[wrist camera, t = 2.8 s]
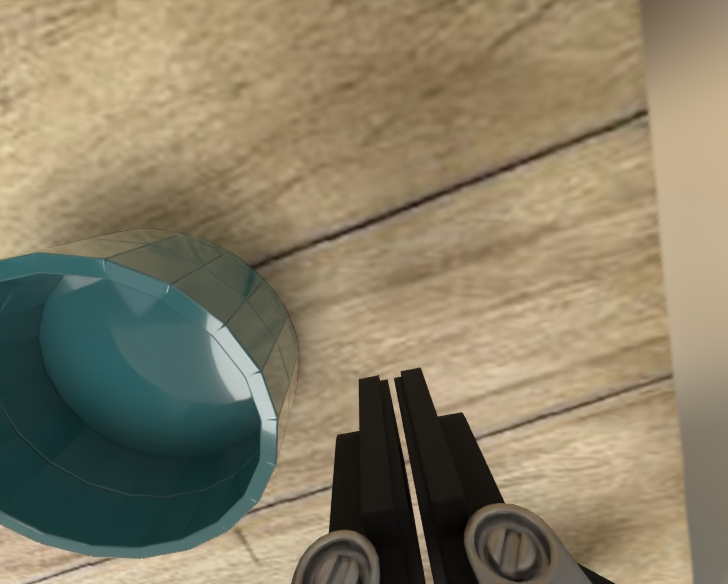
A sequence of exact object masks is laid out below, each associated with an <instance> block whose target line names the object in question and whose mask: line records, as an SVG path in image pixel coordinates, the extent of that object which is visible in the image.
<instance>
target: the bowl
mask: <svg viewBox="0 0 728 584" xmlns="http://www.w3.org/2000/svg"><path fill="white" fill-rule="evenodd" d="M298 371H299V351H298V345H297V339H296V335H295V332H294V328H293V325H292V322H291V320H290V318H289V316H288V314H287V312H286V309H285V307H284V306H283V304H282V303H281V301H280V300H279V298H278V296H277V295H276V293H275V292H274V291H273V290H272V288H271V287H270V286H269V285H268V284H267V282H266V281H265V280H264V279H263V278H262V277H261V276H260V275H259V274H258V273H257V272H256V271H255V270H253V269H252V268H251V267H250V266H249V265H248V264H246V263H245V262H243V261H242V260H241V259H239V258H238V257H237V256H235V255H234V254H232V253H230V252H228V251H227V250H225V249H223V248H221V247H220V246H217V245H215V244H213V243H210V242H208V241H206V240H203V239H201V238H198V237H194V236H191V235H187V234H184V233H180V232H173V231H167V230H156V229H139V230H126V231H121V232H117V233H112V234H108V235H103V236H99V237H94V238H90V239H85V240H81V241H76V242H72V243H68V244H64V245H59V246H55V247H51V248H46V249H42V250H38V251H33V252H29V253H25V254H20V255H16V256H12V257H8V258H3V259H0V525H2V526H4V527H6V528H8V529H11V530H13V531H15V532H17V533H19V534H21V535H23V536H25V537H27V538H29V539H31V540H33V541H35V542H37V543H39V542H40V543H41V544H43V545H47V546H51V547H55V548H59V549H63V550H67V551H70V552H74V553H78V554H82V555H86V556H92V557H108V558H131V559H141V558H143V559H144V558H149V557H155V556H160V555H166V554H171V553H176V552H182V551H187V550H190V549H192V548H194V547H196V546H199V545H201V544H203V543H205V542H207V541H209V540H211V539H213V538H215V537H217V536H219V535H221V534H223V533H226V532H227V531H228V530H230V529H231V528H232V527H233V526H234V525H235V524H236V523H237V522H238V521H239V520H240V519H241V518H242V517H243V516H244V515H245V514H247V513H248V512H249V511H250V510H251V509H252V508H253V507H254V506H255V505H256V504H257V503H258V501H260V499H261V497H262V495H263V492H264V490H265V488H266V486H267V484H268V482H269V479H270V477H271V475H272V473H273V471H274V469H275V466H276V464H277V460H278V457H279V453H280V449H281V445H282V442H283V438H284V434H285V430H286V427H287V422H288V419H289V415H290V411H291V408H292V404H293V400H294V396H295V393H296V384H297V378H298Z"/></svg>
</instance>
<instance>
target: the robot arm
mask: <svg viewBox="0 0 728 584" xmlns="http://www.w3.org/2000/svg"><path fill="white" fill-rule="evenodd" d="M394 381H395V387H396V392H397V397H398V402H399V407H400V412H401V418H402V423H403V428H404V433H405V438H406V443H407V449H408V454H409V459H410V464H411V469H412V474H413V480H414V485H415V490H416V495H417V500H418V505H419V510H420V515H421V521H422V526H423V531H424V536H425V541H426V546H427V551H428V556H429V561H430V566H431V571H432V576H433V581H434V584H615V583H613V582H611V581H609V580H607V579H606V578H604V577H602V576H600V575H598V574H596V573H595V572H593V571H591V570H589V569H587V568H585V567H584V566H582V565H580V564H578V563H576V561H575V560H574V559H573V557H572V556H571V555H570V553H569V552H568V551H567V549H566V548H565V547H564V545H563V544H562V542H561V541H560V540H559V538H558V537H557V536H556V534H555V533H554V532H553V530H552V529H551V528H550V527H549V526H548V525H547V524H546V523H545V522H544V521H543V520H542V519H541V518H540V517H539V516H537V515H536V514H534V513H532V512H531V511H529V510H528V509H525V508H522V507H520V506H517V505H514V504H505V502H504V500H503V498H502V496H501V494H500V491H499V489H498V487H497V485H496V483H495V481H494V478H493V476H492V474H491V472H490V470H489V468H488V465H487V463H486V461H485V459H484V457H483V455H482V453H481V450H480V448H479V446H478V444H477V442H476V440H475V437H474V435H473V433H472V431H471V429H470V427H469V424H468V422H467V420H466V418H465V416H464V414H463V413H462V412H461V413H455V414H450V415H444V416H439V417H438V416H437V413H436V410H435V407H434V405H433V402H432V399H431V396H430V393H429V390H428V387H427V384H426V382H425V379H424V376H423V373H422V370H421V368H416V369H410V370H405V371H401V377H397V378H394ZM359 430H360V431H356V432H351V433H345V434H340V435H337V438H336V447H335V461H334V474H333V487H332V500H331V513H330V526H329V534H326V535H324V536H322V537H320V538H319V539H318V540H317V541H315V542H314V543H313V544H312V545H311V546H309V548H308V549H307V550H306V552H305V553H304V554H303V556H302V557H301V558H300V560H299V563H298V565H297V567H296V570H295V572H294V575H293V579H292V582H291V584H426V582H425V577H424V571H423V565H422V559H421V554H420V548H419V542H418V536H417V531H416V525H415V519H414V513H413V508H412V502H411V496H410V490H409V484H408V479H407V473H406V468H405V462H404V457H403V452H402V447H401V443H400V438H399V433H398V428H397V423H396V418H395V413H394V408H393V403H392V399H391V394H390V389H389V384H388V379H387V380H381V381H380V378H379V375H378V376H373V377H368V378H362V379H359Z"/></svg>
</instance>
